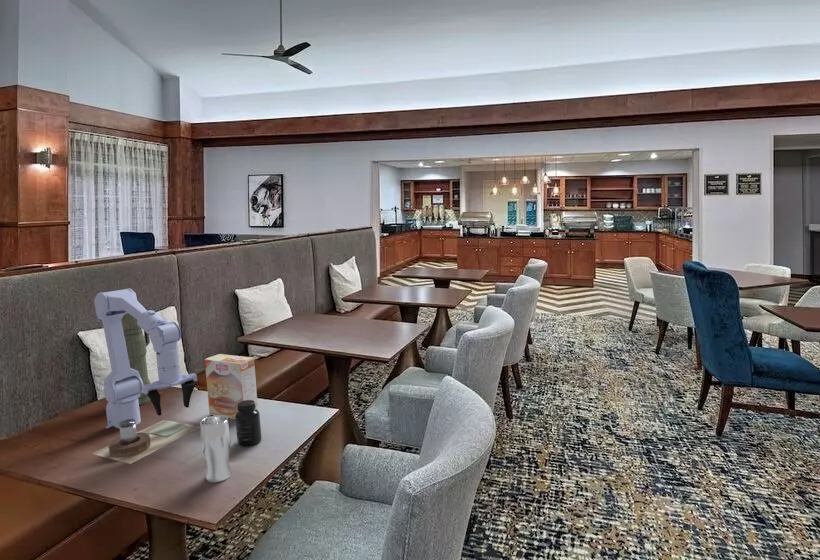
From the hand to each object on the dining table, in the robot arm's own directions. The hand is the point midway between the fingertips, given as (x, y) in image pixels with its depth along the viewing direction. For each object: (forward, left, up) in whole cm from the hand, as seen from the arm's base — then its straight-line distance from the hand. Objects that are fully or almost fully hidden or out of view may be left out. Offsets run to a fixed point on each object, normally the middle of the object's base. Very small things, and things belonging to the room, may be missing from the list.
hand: (173, 410), depth 144 cm
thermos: (-41, +19, -10) cm, 46 cm away
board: (-8, -3, -10) cm, 13 cm away
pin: (-8, -9, -9) cm, 15 cm away
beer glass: (+26, -10, -10) cm, 30 cm away
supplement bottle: (+20, +8, -10) cm, 24 cm away
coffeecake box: (+1, +22, -10) cm, 25 cm away
